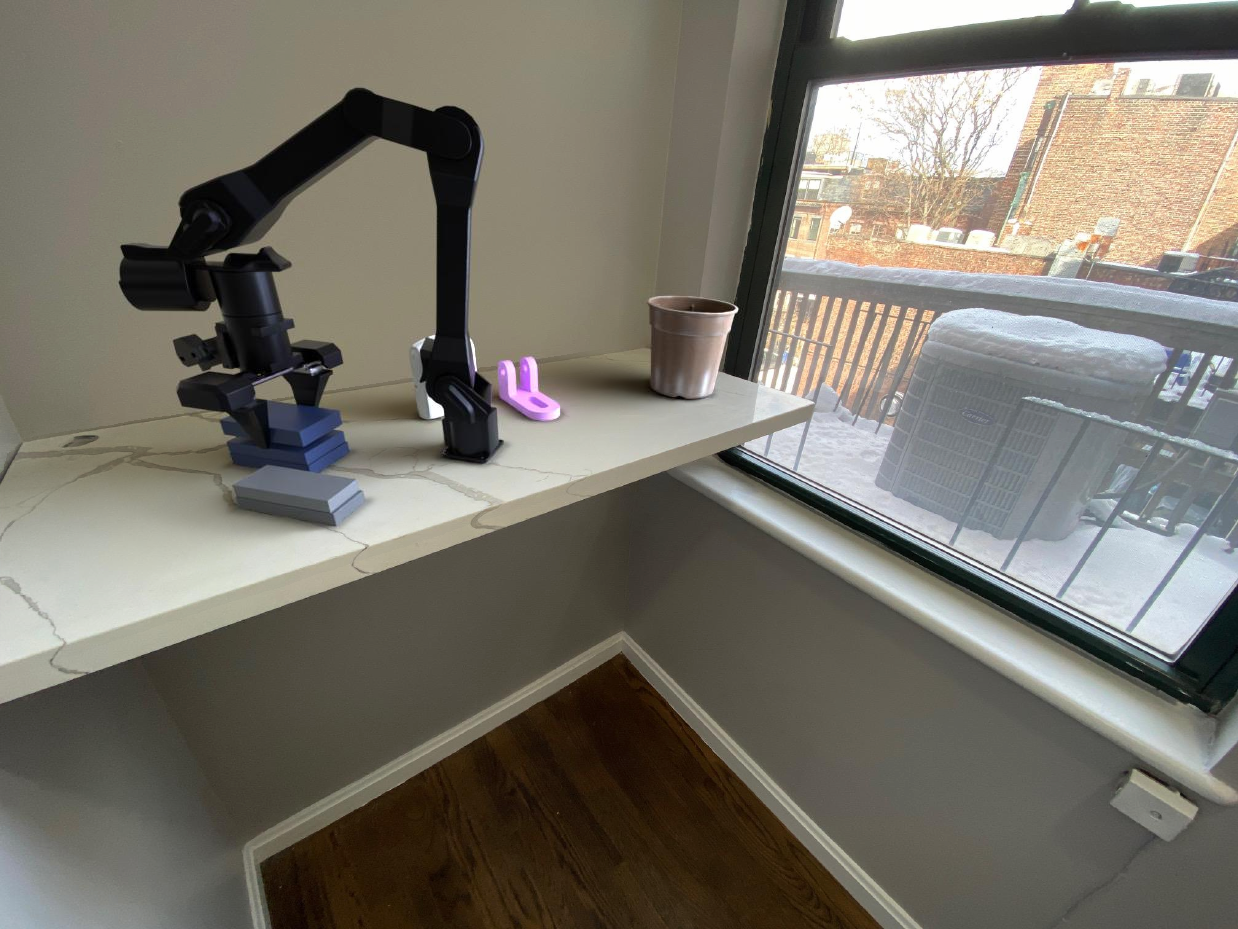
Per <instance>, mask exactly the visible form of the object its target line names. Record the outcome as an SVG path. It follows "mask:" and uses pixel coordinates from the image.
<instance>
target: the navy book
mask: <svg viewBox="0 0 1238 929" xmlns="http://www.w3.org/2000/svg"><path fill="white" fill-rule="evenodd" d="M266 400H267V406H268V419H269V431H270V442H275V443H281V444H288V445H294V446H301V447H304V446H306V445H308V444H309V443H311V442H313V441H315V440H316V439H318V438H320V437H322V436H323V435H325V434H327V433H328V432H330V431H332V430H336V429H337V428H338V427H340V426H342V425H343V420H342V415H341V411H340V410H339V409H333V408H326V407H320V406H318V407H312V406H305V405H298V404H296V403H291V402H290V403H289V402H282V401H276V400H269V399H266ZM219 424H220V427H221V429H222V432H223V435H224V436H229V437H242V438H249V439H251V438H250V436H249V435H248V434H247V433H246V432H245V431H244V430H243V428H242V427H241V426H240V425H239V424H238V423H237V422H236V421H235V420H234V419H233V418H232V417H231V416H230V415H227V416H225V417H223V418H220V419H219Z"/></svg>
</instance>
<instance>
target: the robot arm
mask: <svg viewBox="0 0 1238 929" xmlns="http://www.w3.org/2000/svg"><path fill="white" fill-rule="evenodd" d="M380 139H381V140H385V141H388V142H390V143H394V144H398V145H401V146H405V147H406V148H407V147H408V148H410V149H414V150H418V151H421V152H424V153H425V154H426V160H427V166H428V172H429V177H430V182H431V186H432V191H433V196H434V200H435V206H436V248H435V251H436V252H435V254H436V255H435V256H436V258H435V259H436V261H435V264H436V265H435V267H436V269H435V270H436V275H435V277H436V278H435V280H436V282H435V284H436V285H435V294H436V295H435V312H436V313H435V322H436V323H435V334H434V335H435V339H432V338H428V337H429V336H426V337H424V338H425V340H424V342H423V344H422V347H421V349H420V358H421V363H422V369H423V370H422V375H421V378H420V381H419V382H420V383H423V382H425V381H426V382H425V388H426V392H427V394H428V396H429V397H430V398H431V399H432V400H433V401H434V402H435V403H437V404H439V405H441V406H442V408H443V410H444V416H443V418H442V419H441V426H442V435H443V444H444V447H445V449H444V450H443V451H442V453H441V456H442V457H444V458H449V459H456V460H462V461H468V462H469V461H470V462H475V463H482V464H483V463H487V462H489V461H490V460H491V459H492V457H493V456H494V455H495V454H496V453H497V452H498V451H499V450H500V449H501V448H502V447H503V445H505V440H504V439H500V438H499V437H500V436H499V421H498V420H499V419H498V408H497V407H495V406H492V404H493V403H492V400H493V399H492V398H493V384H492V383H491V382H490V381H489V380H488V379H486V378H485V377H484V376H483V375H482V374H480V373H479V372H478V371H475V364H474V358H473V351H472V345H471V341H470V339H471V337H470V332H469V311H470V310H469V304H470V277H471V276H470V275H471V245H472V244H471V242H472V214H473V206H474V201H475V198H476V194H477V188H478V184H479V179H480V175H481V170H482V165H483V160H484V155H485V139H484V137H483V133H482V130H481V128H480V126H479V124H478V123H477V122H476V120H475V118H474V117H473V116H472V115H471V114H470V113H468V112H467V111H466V110H465V109H463V108H461V107H458V106H456V105H443V106H439V107H437V108H435V110H431V109H428V108H425V107H422V106H418V105H415V104H412V103H410V102H404V101H401V100H398V99H394V98H390V97H387V96H383V95H380V94H377V93H375V92H374V91H372V90H370V89H368V88H365V87H354V88H352V89H349V90H348V91H347V92H346V93H345V94H344V96H343V97H342V98H341V100H340V101H338V102H337V103H336V104H334V105H333V106H332V107H330V108H329V109H327V110H326V111H325V112H323V113H322V114H320V115H319V116H317V117H316V118H315V119H314V120H312V121H311V122H309V123H308V124H307V125H305V126H303V128H301V129H300V130H298V131H297V132H296V133H294V134H293V135H292V136H290V137H289V138H287V139H286V140H285V141H283V142H282V143H281V144H279V145H278V146H276V147H275V148H274V149H272V150H271V151H270V152H268V153H267V154H266V155H264V156H262V157H261V158H260V159H258V160H257V161H256V162H254V163H253V164H250V165H248V166H246V167H243V168H240V169H238V170H235V171H232V172H228V173H225V174H222V175H219V176H216V177H214V178H212V179H209V180H207V181H204V182H202V183H200V184H197V185H195V186H192V187H190V188H188V189H187V190H185V191H184V192H183V193H182V194H181V196H179V200H178V202H177V205H178V208H179V216H180V219H181V220H180V222H179V225H178V226H177V227H176V228H177V229H176V231H175V232H174V234H173V237H172V238H171V241H170V243H169V245H154V244H150V243H145V242H144V243H143V242H129V243H122V244H121V245H120V246H119V248H120V251H121V253H122V259H121V261H120V264H119V268H118V270H119V280H118V285H119V288H120V290H121V293H122V294H123V296H124V297H125V299H126V300H127V302H128V303H129V304H130V305H131V306H132V307H133V308H135V309H136V310H139V311H141V312H207V311H208V309H210V308H211V307H210V306H211V304H212V303H215V302H216V301H217V304H218V307H219V310H220V313H221V316H222V317H221V318H222V320H221V321H217V322H215V323H214V330H215V331H214V332H215V334H216V335H215V336H213V337H209V338H206V339H203V338H202V337H200V336H199V335H198V334H196V333H192V334H188V335H184V336H181V337H178V338H175V339H172V343H173V348H174V351H175V355H176V356H177V358H178V360H179V361H180V362H181V364H182V365H183V366H185V367H187V368H191V367H194V366H197V365H198V367H199V368H200V370H201V371H202V373H199V374H196V375H193V376H190V377H187V378H183V379H181V380H179V382H178V384H177V386H176V388H175V391H176V395H177V397H178V400H179V403H180V405H181V407H182V408H188V409H189V408H190V409H195V410H203V411H210V412H216V413H217V412H218V413H226V415H228V416H231V417H232V418H233V419H234V420H235V421H236V422H237V423H238V424H239V425H240V426H241V427H242V428H243V430H244V431H245V432H246V433H247V434H248V435H249V436H250V438H251V439H252V440H253V441H254V442H255V443H256V444H257V446H258V447H259V448H261V449H266V450H267V449H269V448H270V431H269V419H268V406H267V400H268V399H264V398H258V397H257V396H256V390H255V387H257V386H259V385H261V384H263V383H266V382H269V381H271V380H274V379H276V378H278V377H279V378H280V377H282V378H283V379H284V380H285V381H286V382H287V383H288V384H289V386H290V388H291V391H292V394H293V398H294V402H295V404H298V405H305V406H312V407H320V403H321V401H322V397H323V394H324V391H325V389H326V386H327V385H328V381H329V379H330V376H333V375H334V370H333V369H334V368H336V367H338V366H341V365H343V364H344V358H343V354H342V350H341V349H340V348H339V347H338V346H337V345H336V344H335V343H334V342H331V341H321V340H312V339H301V340H298V341H295V342H292V343H291V340H290V336H289V333H288V330H291V329H295V328H296V325H295V321H294V319H293V318H288V317H285V316H284V313H283V308H282V304H281V301H280V297H279V293H278V289H277V286H276V282H275V277H274V274H273V273H281V272H284V271H286V270H288V269H290V268H292V266H293V264H292V262H291V261H290V260H289V259H287V258H285V257H284V256H283V255H281V254H279V253H278V252H277V251H276V250H275V249H274V248H273V247H272V246H271V245H266V246H263V247H261V248H260V249H259V250H258V252H257V253H252V252H229V253H228V254H226V256H225V258H224V260H221V261H220V260H219V261H218V260H216V261H214V260H206V258H205V257H208V256H213V255H217V254H220V253H224V252H227V251H229V250H231V249H235V248H241V247H244V246H248V245H251V244H255V243H257V242H259V241H261V240H262V239H264V237H265V236H266V235H267V234H268V232H270V230H271V229H272V228H273V227H274V226H275V225H276V223H277V222H278V221H279V220H280V219H281V217H282V216H283V213H284V212H285V210H286V209H287V207H288V206H289V204H290V203H291V202H293V200H294V199H295V198H296V197H298V196H299V195H301V194H302V193H304V192H305V191H306V190H308V189H310V187H313V185H315V184H316V183H318V182H319V181H321V180H322V179H323V178H325V177H326V176H327V175H329V174H330V173H332V172H333V171H335V170H336V169H337V168H339V167H340V166H342V165H343V164H344V163H345V162H347V161H349V160H350V159H351V158H353V157H354V156H356V155H357V154H358V153H360V152H361V151H363V150H364V149H365V148H366V147H368V146H369V145H371V144H373V143H374V142H375V141H377V140H380ZM219 365H222V368H223V369H226V370H227V369H228V370H235V369H239V372H236V373H227V372H220V371H218V372H217V371H211V369H212V367H216V366H219Z"/></svg>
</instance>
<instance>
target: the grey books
mask: <svg viewBox="0 0 1238 929" xmlns="http://www.w3.org/2000/svg"><path fill="white" fill-rule="evenodd" d="M231 486H232V489H233V492H234V494H235V500H236V503H237V506H238V509H241V510H246V511H252V512H258V513H264V514H268V515H274V516H280V517H285V518H291V519H296V520H301V521H308V522H314V523H318V524H319V523H320V524H325V525H331V526H338V525H339V524H340V523H342V522H343V521H344V520H345V519H346V518H348V517H349V516H350V515H351V514H352V513H354V512H355V511H356V510H357V509H358V508H360V507H361V506H362V505H363V504H365V503H366V496H365V492H364V490H361V489H360V487H359V481H358V479H357V478H351V477H347V476H346V477H345V476H338V475H333V474H327V473H322V472H321V473H320V472H319V473H315V472H309V471H303V470H297V469H291V468H284V467H278V466H272V465H266V466H264V467H262V468H261V469H257V470H255V471H254V472H252V473H250V474H248V475H246V476H244V477H243V478H242V479H239V480H238V481H236V482H235V483H232V484H231Z"/></svg>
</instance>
